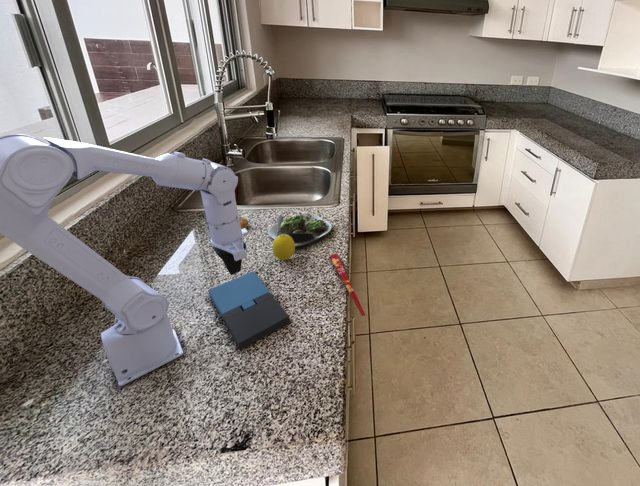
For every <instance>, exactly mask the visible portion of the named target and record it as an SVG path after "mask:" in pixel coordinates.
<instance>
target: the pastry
mask: <svg viewBox="0 0 640 486" xmlns="http://www.w3.org/2000/svg"><path fill="white" fill-rule="evenodd" d="M239 220H240V225H241V229H247V227H248V226H249V219H247V218H243V217H240V216H239Z"/></svg>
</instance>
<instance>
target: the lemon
mask: <svg viewBox="0 0 640 486" xmlns="http://www.w3.org/2000/svg"><path fill="white" fill-rule="evenodd" d="M295 251H296V249H295V243H294V241H293V239H292V237H291V236H289V235H287V234H281V235H279V236H277V237H276V238H275V239H273V241H272V253H273V255H274V256H275V258H276V259H278V260H281V261H287V260H289V259H291V258H292V257H293V256H294V254H295Z"/></svg>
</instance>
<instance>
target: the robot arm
mask: <svg viewBox="0 0 640 486" xmlns="http://www.w3.org/2000/svg"><path fill="white" fill-rule="evenodd" d="M42 139H43V140H44V141H46V142H48V143H49V144H46V143H45V142H43V140H41V139H39V138H37V137H34V136H32V135H28V134H22V133H10V134H9V133H8V134H5V135H1V136H0V235H2V236H4V237H5V238H7V239H8V240H9V241H11V242H13V243H14V244H16V245H17V246H19V247H20V248H22V249H23V250H25V251H26V252H28V253H29V254H31V255H33V256H34V257H35V258H37V259H38V260H40V261H42V263H45V264H46V265H47V266H49V267H51V268H52V269H54V270H55V271H56V272H58V273H59V274H61V275H62V276H64V277H66V278H67V279H69V280H70V281H72V282H73V283H75V284H76V285H78V286H79V287H80V288H83V290H85V291H87V292H88V293H90V294H91V295H93V296H94V297H95V298H97V299H98V300H100V301H101V303H102V307H104V309H106V310H107V311H109V312H110V313H112V314H113V315H114V316H115V317H114V323H113V325H112V326H111V327H109V328H107V329H106V330H104V331H102V332H101V333H100V338H101V342H102V347H103V349H104V353H105V356H106V358H107V360H108V364H109V367H110V369H111V370H112V373H113V374H114V377H115V378H116V379H115V380H117V385H118V386H119V387H123V386H125V385H127V384H129V383H131V382H133V381H134V380H137V379H139V378H140V377H143V376H144V375H146V374H148V373H150V372H152V371H154V370H156V369H158V368H160V367H162V366H164V365H166V364H168V363H171V361H174V360H175V359H178V358H180V357H182V356H183V355H184V351H183V348H182V346H181V342H180V340H179V338H178V335H177V332H176V330H175V329H174V328H173V326H172V325H171V322H170V321H171V320H170V318H169V315H168V311H169V305H170V304H169V301H168V299H167V297H166V296H164V295H163V294H161V293H159V292H157V291H156V290H155V289H153V288H152V287H151V286H149V285H148V284H147V283H145V282H144V280H142V279H141V278H140V277H137V276H132V275H131V276H130V275H127V274H125V273H123V272H122V271H121V270H119V269H118V268H117V267H115V266H114V265H113V264H112V263H110V262H109V261H108V260H106V259H105V258H104V257H102V256H101V255H100V254H99V253H97V252H96V251H94V250H93V248H91V247H89V245H87V244H85V243H84V242H83V241H82V240H80V239H79V238H78V237H77V236H75V235H74V234H73V233H72V232H70V231H69V230H67V229H66V228H65V227H64V226H62V225H61V224H59V223H58V222H57V221H56V220H55V219H53V217H50V216H49V210H50V207H51V205H52V201H53V200H54V199H55V198H56V196H58V194H59V193H60V191H61V190H62V189H63V188H64V187H65V186H66V185H67V184H68V182H69V181H70V179H71V178H74V179H75V180H77V181H78V180H83V179H84V178H86V177H88V176H89V175H91V174H93V173H95V172H107V173H114V174H123V175H132V176H133V175H134V176H140V177H141V176H142V177H149V178H151V179H152V180H153V182H154V183H155V184H156V185H157V186H160V187H168V188H174V189H183V190H190V191H200V196H201V200H202V205H203V209H204V213H205V217H206V221H207V226H208V231H209V234H210V243H211V245H212V246H211V247H212V250H213V251H214V252H215V254H216V255H217V257H219V258H220V259H221V261H222V263H223V264H224V267H225V269H226V270H227V272H228V273H229V275H230V276H233V275H235V274H238V273H240V272H241V271H242V263H243V259H245V258H247V255H246V254H247V253H246V249H247V244H246V243H245V242H244V241H245V240H244V239H245V238H244V237H245V236H247V235H249V230H248V229H247V228H245V229H241V225H240V220H239V217H240V215H239V209H238V205H237V199H236V192H235V191H236V188H237V186H238V183H239V176H237V175H236V174H235V172H234V170H232V168H230V167H228V166H225V165H222V164H219V163H217V162H213V161H211V160H210V159H207V158H201V160H200V159H195V158H193V157H192V158H191V157H188V156H187V155H186V154H185V153H183V152H179V151H174V152H173V153H163V154H161V155H159V156H157V157H155V158H154V157H149V156H146V155H141V154H137V153H132V152H127V151H124V150H118V149H114V148H111V147H104V146H100V145H96V144H91V143H87V142H81V141H75V140H68V139H61V138H55V137H42ZM186 156H187V157H186Z"/></svg>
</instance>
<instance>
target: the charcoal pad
mask: <svg viewBox="0 0 640 486" xmlns="http://www.w3.org/2000/svg"><path fill="white" fill-rule="evenodd" d="M254 302H255V304H256V305H254V306H252V307H250V308H248V309H246V310H244V311H242V309H241V308H240V306H239V307H236V308H234V309H232V310H230V311H228V312H226V313H224V314H222V316H221V318H222V317H223V318H222V320H223V322H224V324H225V326H226V328H227V330H228V331H229V333H230V335H231V337H232V338H233V340H234V342H235V344H236V346H237V347H238V349H239V351H241V350H244V349H245V348H247V347H249V346H251V345H252V344H254V343H257V342H258V341H259V340H261V339H263V338H264V337H267V336H268V335H270V334H272V333H274V332H276V331H277V330H279V329H281V328H283V327H285V326H286V325H288V324H290V322H291V321H290V316H289V314H287V312H286V311H285V310H284V308H283V307H282V305H281V304H280V303H279V302H278V300H277V299H276V298H275V297H274V295H273V294H272V293H271V292H268V293H266V294H264V295H262V296H259V297H257V298H255V299H254Z"/></svg>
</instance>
